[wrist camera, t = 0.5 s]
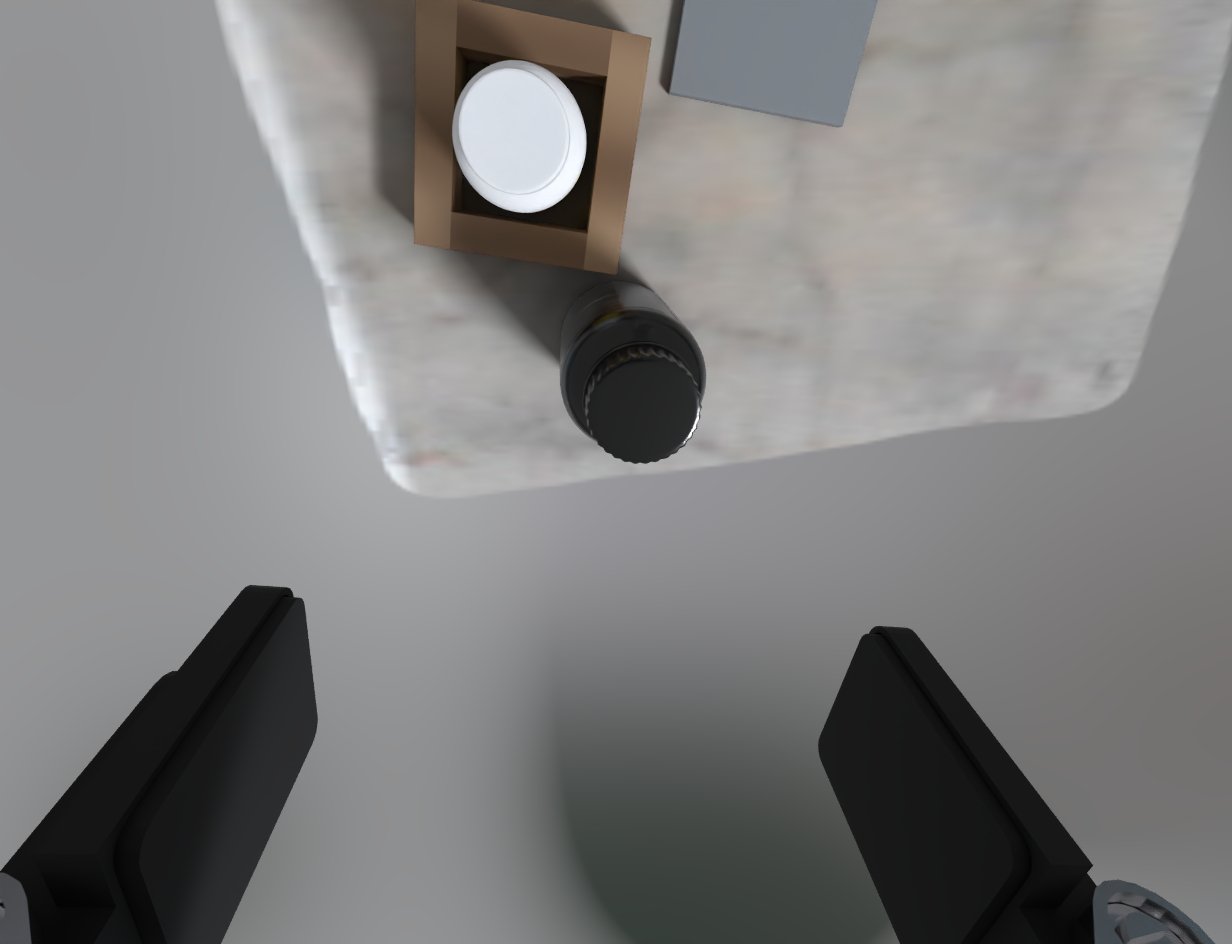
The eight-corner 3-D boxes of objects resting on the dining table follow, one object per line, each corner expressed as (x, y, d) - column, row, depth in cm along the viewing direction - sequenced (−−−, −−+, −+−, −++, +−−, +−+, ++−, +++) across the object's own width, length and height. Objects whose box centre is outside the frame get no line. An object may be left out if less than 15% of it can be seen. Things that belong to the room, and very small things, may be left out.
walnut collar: (430, 7, 27) (415, -12, 24) (643, 51, 28) (651, 37, 26) (427, 238, 31) (414, 243, 28) (612, 267, 32) (616, 274, 30)
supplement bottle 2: (562, 396, 36) (560, 488, 25) (557, 280, 33) (552, 326, 22) (674, 394, 36) (719, 483, 25) (679, 278, 33) (733, 324, 22)
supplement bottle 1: (602, 127, 29) (617, 103, 21) (553, 228, 31) (547, 245, 23) (504, 61, 28) (474, 5, 19) (458, 172, 30) (413, 167, 21)
